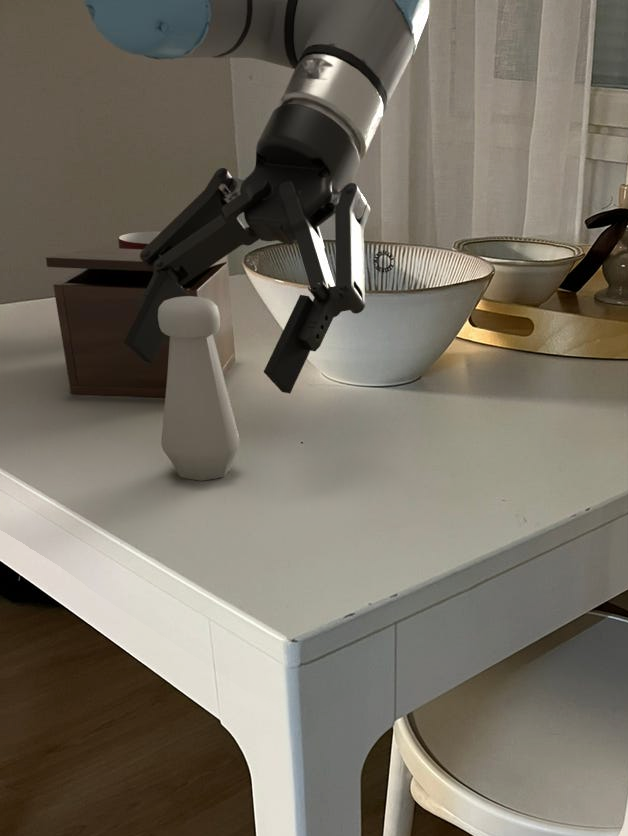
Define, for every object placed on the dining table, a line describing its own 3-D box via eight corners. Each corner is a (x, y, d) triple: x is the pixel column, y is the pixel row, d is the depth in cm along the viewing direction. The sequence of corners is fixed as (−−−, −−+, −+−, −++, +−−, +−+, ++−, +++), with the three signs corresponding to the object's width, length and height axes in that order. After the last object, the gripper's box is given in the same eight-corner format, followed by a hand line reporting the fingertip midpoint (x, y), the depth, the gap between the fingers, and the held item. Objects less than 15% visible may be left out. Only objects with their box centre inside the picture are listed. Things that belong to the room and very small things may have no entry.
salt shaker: (148, 473, 79) (127, 299, 73) (202, 452, 83) (186, 287, 77) (204, 490, 77) (187, 312, 70) (257, 468, 81) (245, 298, 74)
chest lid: (193, 273, 89) (192, 263, 89) (46, 267, 89) (45, 257, 89) (227, 261, 102) (227, 252, 102) (100, 256, 102) (99, 247, 102)
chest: (207, 399, 96) (196, 290, 91) (70, 394, 95) (52, 284, 90) (235, 360, 107) (227, 262, 102) (114, 355, 107) (100, 256, 102)
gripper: (171, 88, 82) (53, 313, 79) (437, 109, 72) (316, 367, 68) (222, 157, 89) (115, 367, 85) (471, 184, 79) (363, 423, 75)
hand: (204, 367), depth 77 cm, fingers open, 13 cm apart
